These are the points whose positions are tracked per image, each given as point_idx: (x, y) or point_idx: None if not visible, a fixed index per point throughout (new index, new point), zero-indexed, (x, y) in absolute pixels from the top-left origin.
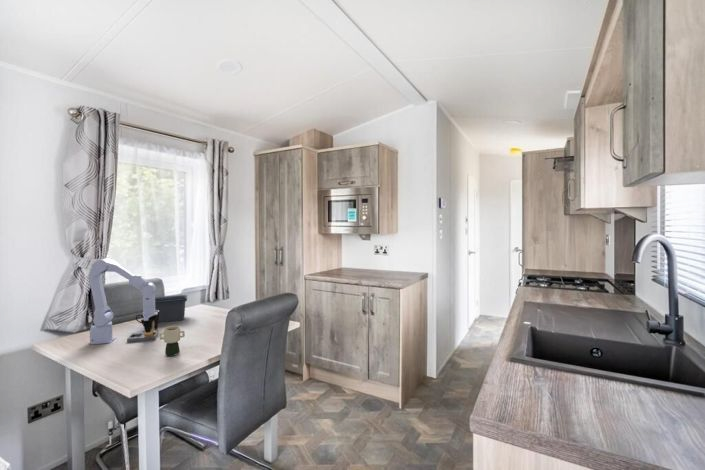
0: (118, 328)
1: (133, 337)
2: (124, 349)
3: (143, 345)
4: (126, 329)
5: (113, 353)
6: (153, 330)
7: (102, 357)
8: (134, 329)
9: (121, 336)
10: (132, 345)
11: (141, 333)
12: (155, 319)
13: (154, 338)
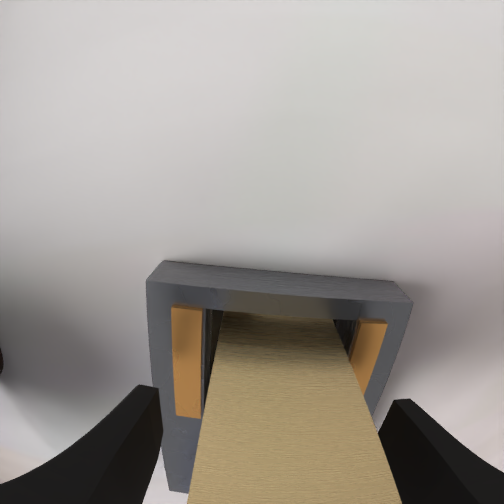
0: (9, 471)
1: None
2: (468, 437)
3: (481, 351)
4: (14, 455)
5: (486, 454)
6: (291, 371)
7: (497, 466)
8: (6, 428)
9: (144, 497)
10: None
11: (192, 446)
12: (43, 474)
13: (402, 291)
